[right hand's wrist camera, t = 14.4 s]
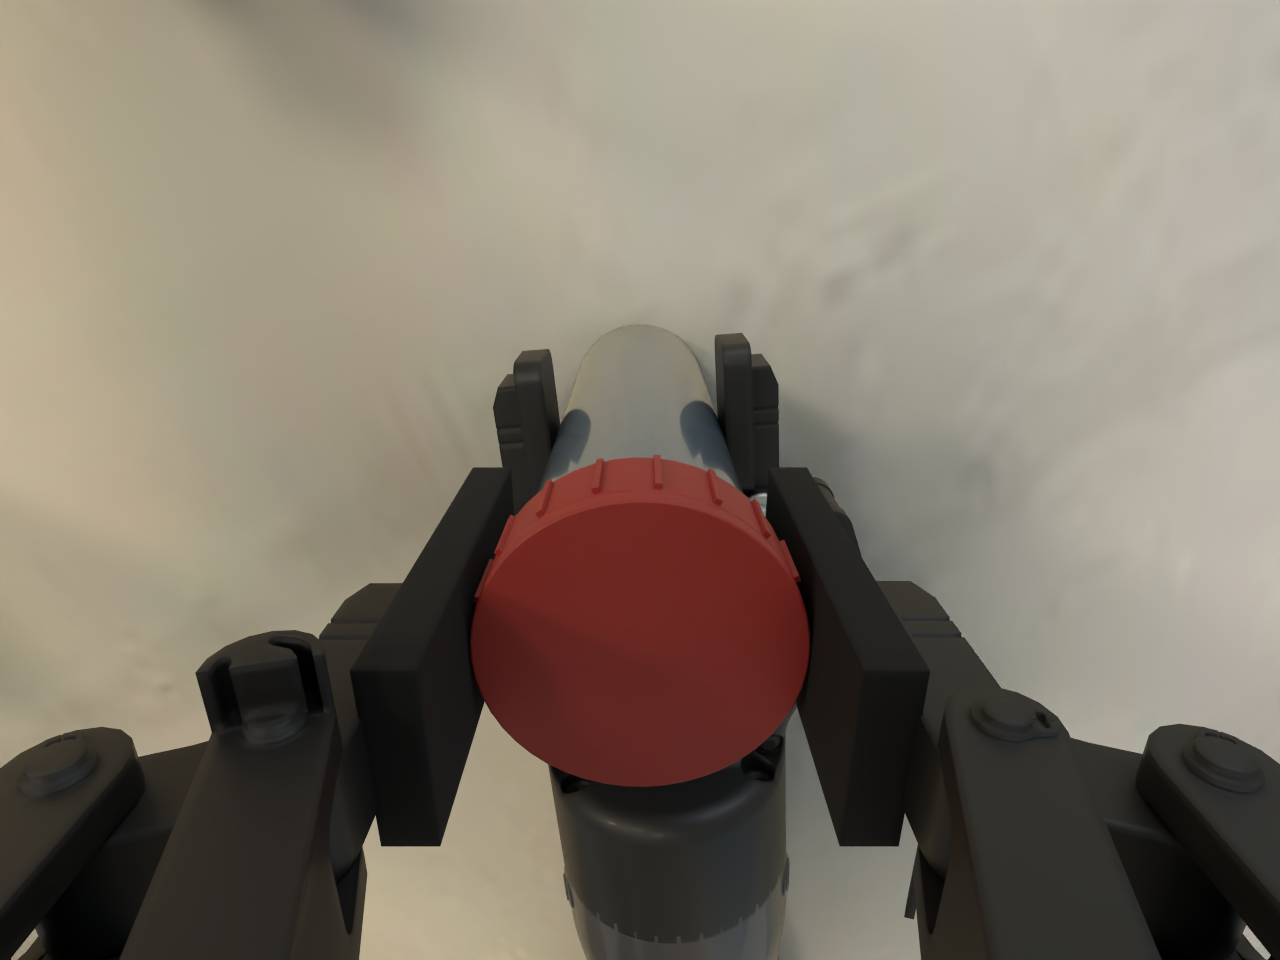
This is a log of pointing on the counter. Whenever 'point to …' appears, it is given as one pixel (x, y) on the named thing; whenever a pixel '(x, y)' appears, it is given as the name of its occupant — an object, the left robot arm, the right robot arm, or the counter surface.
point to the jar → (640, 407)
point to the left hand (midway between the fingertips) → (632, 350)
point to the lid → (640, 624)
